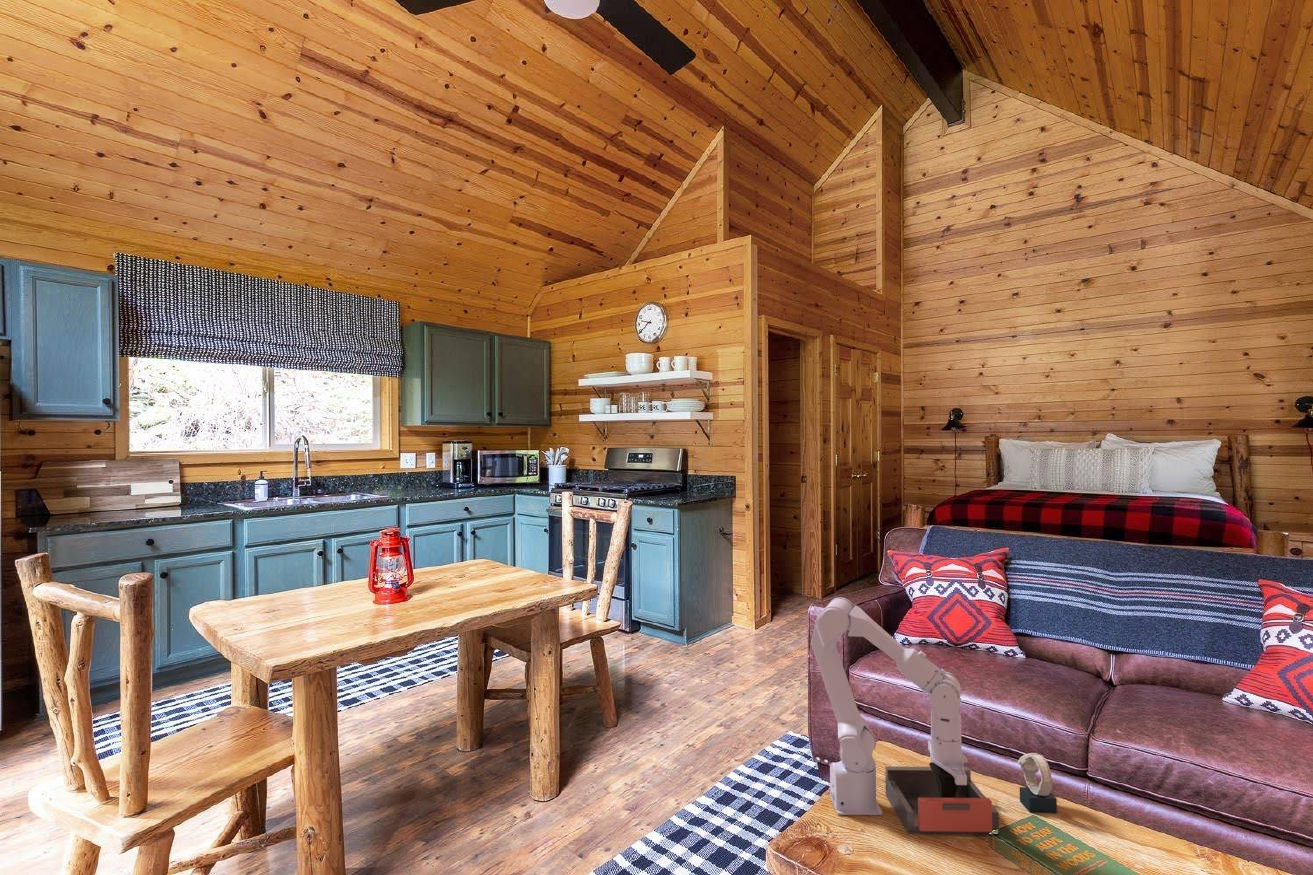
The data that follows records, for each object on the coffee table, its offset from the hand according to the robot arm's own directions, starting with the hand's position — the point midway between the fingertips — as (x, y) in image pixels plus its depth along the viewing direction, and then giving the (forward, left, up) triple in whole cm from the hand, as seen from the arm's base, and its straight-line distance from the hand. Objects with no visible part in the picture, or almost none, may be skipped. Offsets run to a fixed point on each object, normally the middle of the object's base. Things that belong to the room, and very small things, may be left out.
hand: (947, 801), depth 133 cm
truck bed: (0, +4, -5) cm, 7 cm away
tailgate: (0, -4, -3) cm, 5 cm away
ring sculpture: (+22, +7, -5) cm, 24 cm away
